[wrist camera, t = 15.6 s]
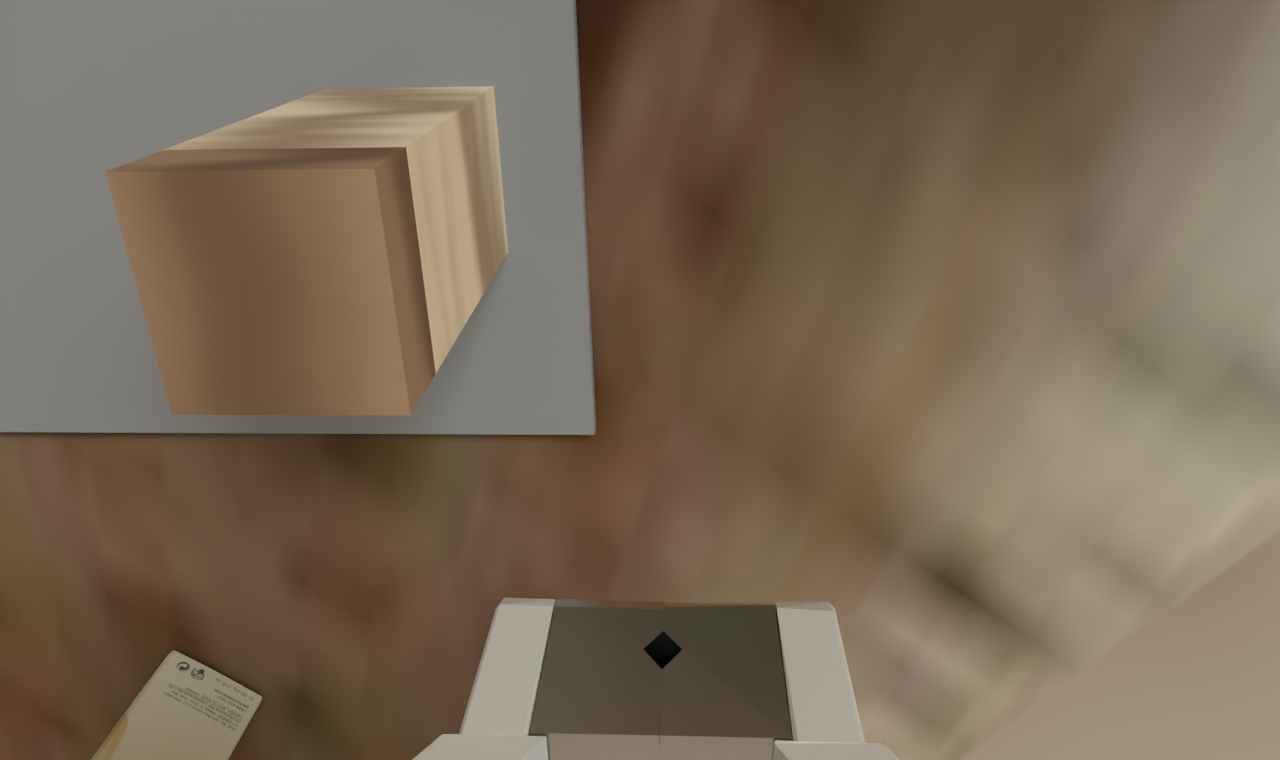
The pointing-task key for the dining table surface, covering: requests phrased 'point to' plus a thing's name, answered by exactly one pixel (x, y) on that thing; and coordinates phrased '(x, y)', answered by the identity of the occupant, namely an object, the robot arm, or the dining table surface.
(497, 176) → the birch block
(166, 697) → the skincare box
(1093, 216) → the dining table surface
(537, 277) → the grey mat
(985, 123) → the dining table surface
